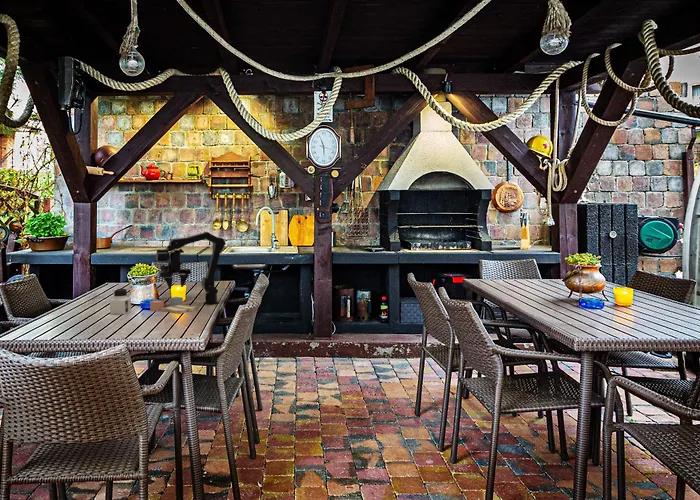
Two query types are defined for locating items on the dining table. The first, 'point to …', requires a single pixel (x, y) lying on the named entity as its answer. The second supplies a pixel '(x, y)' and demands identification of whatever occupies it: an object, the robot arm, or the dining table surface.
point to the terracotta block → (156, 305)
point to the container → (120, 302)
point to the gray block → (176, 301)
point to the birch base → (179, 309)
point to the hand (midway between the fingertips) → (176, 287)
